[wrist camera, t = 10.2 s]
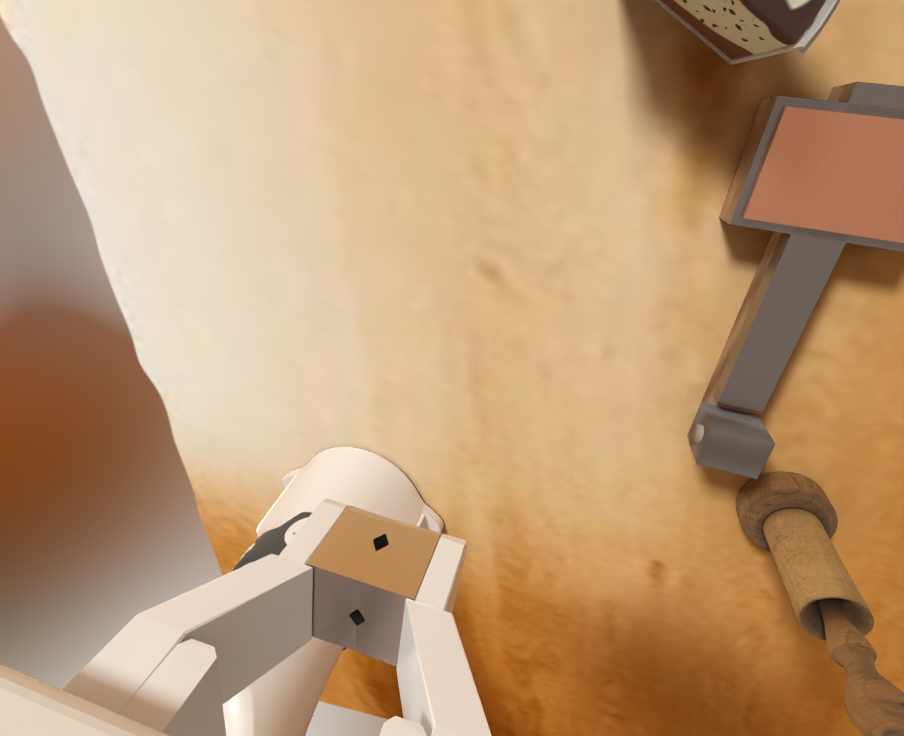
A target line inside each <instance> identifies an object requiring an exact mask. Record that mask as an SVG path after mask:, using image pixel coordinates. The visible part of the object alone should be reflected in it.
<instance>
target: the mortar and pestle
mask: <svg viewBox="0 0 904 736" xmlns="http://www.w3.org/2000/svg"><path fill="white" fill-rule="evenodd" d="M736 509H737V513H738V516H739V519H740V522H741V524H742V527H743V530H744V532H745V533H746V535H747V536H748V538H749V539H750V540H751V541H752V542H754V543H755V544H756V545H758V546H760V547H761V548H763V549H766V550H769V551H771V552H772V555H773V557H774V560H775V562H776V565H777V568H778V570H779V573H780V575H781V578H782V580H783V583H784V585H785V588H786V591H787V593H788V596H789V598H790V601H791V603H792V606H793V609H794V611H795V614H796V616H797V619H798V621H799V623H800V625H801V627H802V628H803V629H804V630H805V631H807V632H808V633H809V634H811V635H813V636H815V637H817V638H820V639H823V640H826V644H827V649H828V652H829V656H830V658H831V660H832V661H833V662H834V663H836V664H837V665H839V666H842V667H844V668H845V669H846V672H847V682H846V687H845V693H844V705H845V708H846V711H847V714H848V716H849V717H850V719H851V721H852V722H853V723H854V725H855V726H856V727H857V728H858V729H859V730H860V732H862V733H863V734H864V735H865V736H904V693H903V692H902V691H901V690H900V689H898V688H897V687H896V686H894V685H893V684H892V683H890V682H889V681H888V680H887V679H885V678H884V677H883V676H881V675H880V674H879V673H878V672H877V671H876V669H875V666H874V662H875V661H876V658H877V654H876V651H875V650H874V648H873V647H872V646H871V644H870V643H869V642H868V640H867V639H866V638H865V637H864V636H865V635H867V634H868V633H869V632H870V631H871V630H872V628H873V625H874V619H873V616H872V613H871V612H870V610H869V608H868V606H867V605H866V603H865V601H864V599H863V598H862V596H861V594H860V593H859V591H858V589H857V587H856V586H855V584H854V582H853V580H852V579H851V577H850V575H849V573H848V571H847V570H846V568H845V566H844V564H843V562H842V561H841V559H840V557H839V555H838V553H837V551H836V550H835V548H834V546H833V544H832V542H831V540H830V538H831V537H832V536H833V535H834V533H835V531H836V528H837V523H838V520H837V515H836V512H835V510H834V508H833V506H832V504H831V503H830V501H829V499H828V498H827V496H826V494H825V493H824V491H823V490H822V489H821V487H820V486H819V485H818V484H816V483H815V482H814V481H812V480H811V479H809V478H807V477H805V476H802V475H799V474H796V473H790V472H773V473H767V474H764V475H761V476H758V478H757V479H755V478H754V479H752V480H751V481H749V482H748V483H747V484H746V485H745V486H744V487H743V488H742V489H741V491H740V492H739V494H738V497H737V500H736Z"/></svg>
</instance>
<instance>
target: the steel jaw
mask: <svg viewBox="0 0 904 736" xmlns="http://www.w3.org/2000/svg"><path fill="white" fill-rule="evenodd" d="M724 221H725V222H727V223H728V224H731V225H738V226H744V227H750V228H757V229H763V230H769V231H776V232H782V233H781V236H780V238H779V240H778V243H777V245H776V247H775V250H774V252H773V255H772V257H771V259H770V262H769V264H768V266H767V269H766V271H765V273H764V276H763V278H762V280H761V283H760V285H759V287H758V290H757V292H756V294H755V297H754V299H753V302H752V304H751V306H750V309H749V311H748V313H747V316H746V318H745V320H744V323H743V325H742V327H741V330H740V332H739V334H738V337H737V339H736V341H735V344H734V346H733V349H732V351H731V353H730V356H729V358H728V360H727V363H726V365H725V367H724V370H723V372H722V374H721V377H720V379H719V381H718V384H717V386H716V389H715V391H714V395H715V397H716V399H717V401H718V402H719V403H723V404H728V405H732V406H736V407H741V408H745V409H750V410H754V411H759V412H763V411H764V409H765V407H766V405H767V403H768V401H769V399H770V397H771V395H772V393H773V391H774V389H775V387H776V385H777V383H778V381H779V379H780V377H781V374H782V372H783V370H784V368H785V366H786V364H787V362H788V360H789V358H790V356H791V354H792V352H793V350H794V348H795V346H796V344H797V342H798V340H799V338H800V336H801V334H802V332H803V330H804V328H805V326H806V323H807V321H808V319H809V317H810V315H811V313H812V311H813V309H814V307H815V305H816V303H817V301H818V299H819V297H820V295H821V293H822V291H823V289H824V287H825V285H826V283H827V281H828V279H829V277H830V275H831V272H832V270H833V268H834V266H835V264H836V262H837V260H838V258H839V256H840V254H841V252H842V250H843V248H844V246H845V244H846V243H851V244H858V245H864V246H870V247H877V248H883V249H889V250H896V251H902V252H904V86H895V85H885V84H875V83H865V82H854V83H850V84H846V85H844V88H843V90H842V92H841V95H840V97H839V99H838V102H833V101H824V100H815V99H805V98H796V97H787V96H774V97H770V98H769V100H768V103H767V106H766V109H765V111H764V114H763V117H762V119H761V122H760V125H759V128H758V130H757V133H756V136H755V138H754V141H753V144H752V147H751V149H750V152H749V155H748V157H747V160H746V163H745V166H744V168H743V171H742V174H741V177H740V179H739V182H738V185H737V187H736V190H735V193H734V196H733V198H732V201H731V204H730V206H729V209H728V212H727V215H726V217H725V220H724Z"/></svg>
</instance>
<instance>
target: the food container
mask: <svg viewBox="0 0 904 736" xmlns="http://www.w3.org/2000/svg"><path fill="white" fill-rule="evenodd" d="M655 1H656V2H657V3H659V4H660V5H661V6H662V7H663V8H664V9H666V10H667V11H668V12H669V13H670V14H672V15H673V16H674V17H675V18H676V19H677V20H679V21H680V22H681V23H682V24H683V25H685V26H686V27H687V28H688V29H689V30H690V31H692V32H693V33H694V34H695V35H696V36H698V37H699V38H700V39H701V40H702V41H703V42H705V43H706V44H707V45H708V46H709V47H711V48H712V49H713V50H714V51H715V52H716V53H718V54H719V55H720V56H721V57H722V58H723V59H725V60H726V61H727V62H728V63H729V64H731V65H733V64H738V63H742V62H747V61H751V60H756V59H760V58H765V57H769V56H774V55H778V54H783V53H787V52H792V51H798V52H799V53H798V55H797V56H796V58H795V59H794V61H796V62H797V61H798V60H799V59H800V58H801V56H802V55H803V54H804V53H805V51H806V50H807V49H808V48H809V46H810V45H811V44H812V43H813V41H814V40H815V39H816V37H817V36H818V35H819V33H820V32H821V31H822V29H823V27H824V26H825V24H826V23H827V21H828V20H829V18H830V17H831V15H832V14H833V12H834V10H835V9H836V7H837V5H838V3H839V1H840V0H655Z"/></svg>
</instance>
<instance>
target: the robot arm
mask: <svg viewBox="0 0 904 736" xmlns="http://www.w3.org/2000/svg"><path fill="white" fill-rule="evenodd" d="M282 487H283V490H284V491H283V493H282V494H281V495H280V497H279V498H278V499H277V501H276V502H275V503H274V505H273V506H272V507H271V509H270V510H269V511H268V513H267V514H266V516H265V517H264V518H263V520H262V521H261V522H260V524H259V525H258V528H257V534H258V539H257V540H256V542H255V543H254V544H252V546H250V547H249V548H248V549H247V550H246V552H245V553H244V555H243V556H242V557H241V560H240V561H239V562H238V564H237V565H236V566H235V568H234V570H233V571H232V572H230V573H228V574H226V575H223V576H221V577H219V578H217V579H215V580H212V581H210V582H208V583H206V584H203V585H201V586H199V587H197V588H195V589H193V590H190V591H188V592H186V593H184V594H181V595H179V596H177V597H175V598H172V599H170V600H168V601H166V602H164V603H162V604H159V605H157V606H155V607H153V608H150V609H148V610H146V611H144V612H142V613H139V614H137V615H136V616H135V617H134V618H133V619H132V620H131V621H130V622H129V623H128V624H127V625H126V626H125V627H124V628H123V629H122V630H121V631H120V632H119V633H118V634H117V635H116V636H115V637H114V638H113V639H112V640H111V641H110V642H109V643H108V644H107V645H106V646H105V647H104V648H103V649H102V650H101V651H100V652H99V653H98V654H97V655H96V656H95V657H94V658H93V659H92V660H91V661H90V662H89V663H88V664H87V665H86V666H85V667H84V668H83V669H82V670H81V671H80V672H79V673H78V674H77V675H76V676H75V677H74V678H73V679H72V680H71V681H70V682H69V683H68V684H67V685H66V686H65V688H63V689H62V690H61V689H59V688H56V687H54V686H51V685H49V684H47V683H44V682H42V681H40V680H37V679H35V678H32V677H30V676H28V675H25V674H23V673H21V672H18V671H16V670H14V669H11V668H9V667H6V666H4V665H1V664H0V736H305V734H306V731H307V728H308V726H309V723H310V721H311V718H312V716H313V713H314V711H315V709H316V706H317V704H318V701H319V699H320V697H321V695H322V692H323V690H324V688H325V685H326V683H327V681H328V679H329V677H330V675H331V673H332V670H333V668H334V666H335V664H336V662H337V660H338V658H339V656H340V654H341V652H342V651H344V650H345V649H346V648H349V649H352V650H355V651H357V652H360V653H362V654H365V655H367V656H370V657H373V658H375V659H378V660H380V661H383V662H385V663H388V664H390V665H393V666H395V667H397V669H396V670H397V677H398V684H399V691H400V698H401V705H402V712H403V718H400V717H397V716H394V717H392V718H391V719H389V720H387V721H385V722H384V724H383V727H382V730H381V732H380V735H379V736H491V733H490V729H489V726H488V723H487V720H486V717H485V714H484V710H483V707H482V704H481V701H480V698H479V695H478V692H477V688H476V685H475V682H474V679H473V676H472V673H471V669H470V666H469V663H468V660H467V657H466V654H465V650H464V647H463V644H462V641H461V638H460V635H459V631H458V628H457V625H456V622H455V619H454V616H453V614H452V612H453V608H454V604H455V600H456V595H457V591H458V587H459V583H460V578H461V573H462V568H463V563H464V559H465V554H466V549H467V541H466V540H463V539H460V538H456V537H453V536H449V535H446V534H442V533H441V532H442V530H443V527H444V523H443V521H442V519H441V518H440V517H439V516H438V515H437V514H436V513H435V512H434V511H433V510H432V509H431V508H430V507H428V506H427V505H426V504H425V503H424V502H423V500H422V499H421V497H420V495H419V494H418V492H417V490H416V488H415V487H414V485H413V484H412V483H411V481H410V480H409V479H408V478H407V476H406V475H405V474H404V473H403V472H402V471H400V470H399V469H398V468H397V467H396V466H395V465H393V464H392V463H390V462H389V461H387V460H386V459H384V458H382V457H380V456H378V455H376V454H374V453H372V452H369V451H366V450H363V449H358V448H352V447H336V448H331V449H327V450H324V451H322V452H320V453H319V454H317V455H316V456H315V457H313V458H312V459H311V461H310V462H309V463H308V464H307V465H306V466H304V467H303V468H299V469H296V470H293V471H290V472H288V473H287V474H286V476H285V477H284V478H283V480H282Z"/></svg>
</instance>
